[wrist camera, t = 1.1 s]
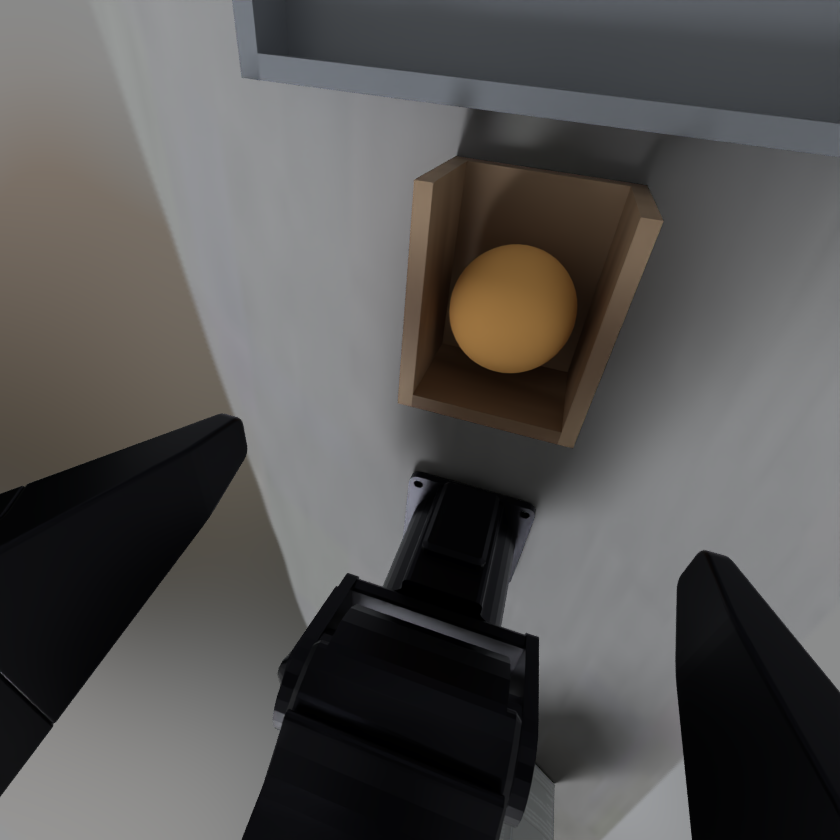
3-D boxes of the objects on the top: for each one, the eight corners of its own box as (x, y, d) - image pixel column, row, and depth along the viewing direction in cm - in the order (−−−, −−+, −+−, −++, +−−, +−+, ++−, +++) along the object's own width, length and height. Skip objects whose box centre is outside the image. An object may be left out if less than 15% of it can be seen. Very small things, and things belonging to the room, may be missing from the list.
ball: (557, 361, 17) (555, 406, 14) (454, 338, 18) (427, 375, 14) (591, 249, 15) (599, 269, 12) (473, 228, 16) (448, 240, 12)
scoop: (577, 378, 18) (573, 448, 15) (433, 344, 19) (397, 403, 16) (647, 185, 14) (663, 220, 10) (456, 156, 15) (414, 179, 12)
